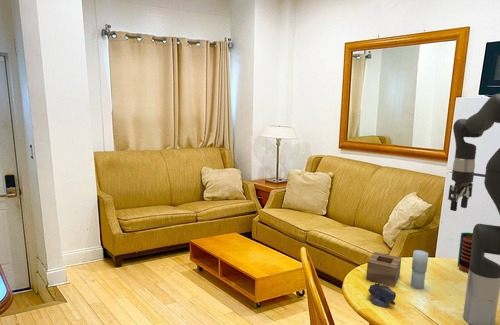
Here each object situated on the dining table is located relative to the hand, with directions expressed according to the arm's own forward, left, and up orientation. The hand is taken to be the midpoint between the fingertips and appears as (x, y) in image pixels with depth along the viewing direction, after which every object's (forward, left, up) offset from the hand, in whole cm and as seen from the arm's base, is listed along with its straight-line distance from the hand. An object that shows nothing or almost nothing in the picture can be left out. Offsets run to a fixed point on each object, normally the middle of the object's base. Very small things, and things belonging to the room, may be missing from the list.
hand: (458, 209), depth 155 cm
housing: (-15, +24, -30) cm, 41 cm away
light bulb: (-15, +11, -30) cm, 35 cm away
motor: (+15, -7, -30) cm, 35 cm away
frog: (-35, +21, -30) cm, 51 cm away
